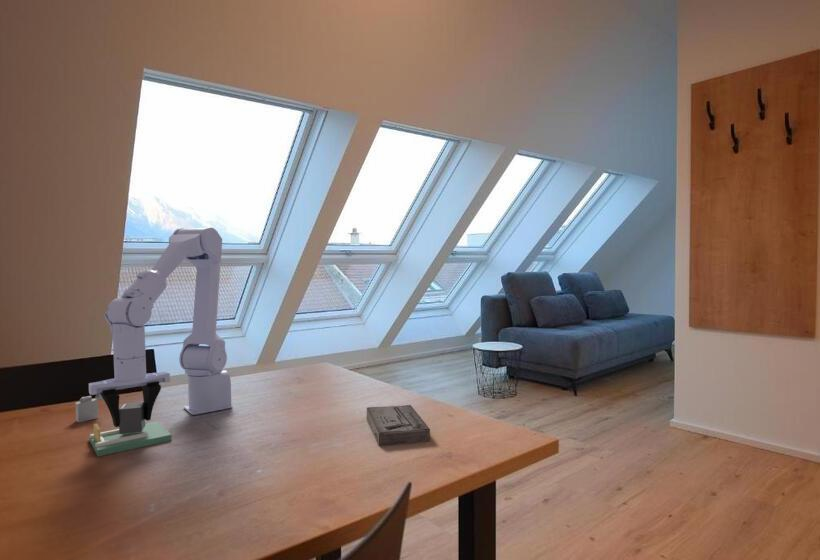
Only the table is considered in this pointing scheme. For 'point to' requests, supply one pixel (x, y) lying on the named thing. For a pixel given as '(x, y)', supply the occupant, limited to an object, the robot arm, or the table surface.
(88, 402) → the lighter
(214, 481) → the table surface
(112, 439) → the header board
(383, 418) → the box
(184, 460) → the table surface
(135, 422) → the plug
